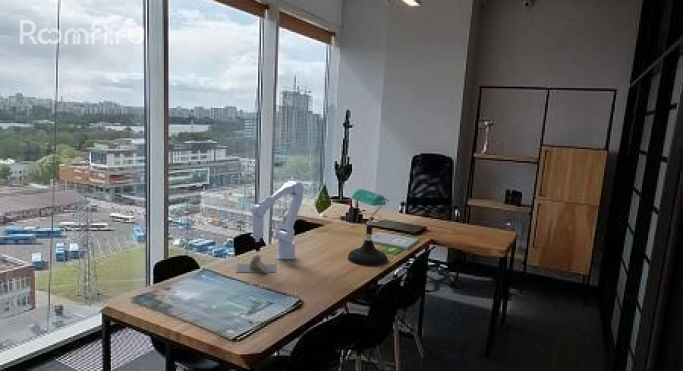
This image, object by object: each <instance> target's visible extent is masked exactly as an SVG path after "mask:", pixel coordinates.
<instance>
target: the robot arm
mask: <svg viewBox="0 0 683 371" xmlns="http://www.w3.org/2000/svg"><path fill="white" fill-rule="evenodd" d="M304 189H305V187H304V185H303V184H302V182H298V181H294V180H287V181H286V182H285V183H283V185H282V186H281V187H280V188H279V189H278V190H277V191H275V192H274V193H273V194H272V195H268V196H265V197H264V198H263V200H261V201H259V202H258V203H256V204H254V205H252V207H251V209H250V213H251V214H252V233H251V234H250V237H252V242H253V244H254V249H255V252H260V251H261V246H262V244H263V241H264V237H265V236H264V225H265V224H264V220H265V219H264V217H265V215H266V213H267V211H268V210H269V209H271V208H272V207H273V206H275V205H276V201H278V200H279V199H280V198H282V197H283V196H285V195H286V194H290V195H291V197H292V200H291V203H290V204H289V205H290V206H289V208H288V212H287V214H286V217H285V220H284V222H283V224H282V225H281V226H280V228H279V229H278V231H276V238H277V240H278V249H277V250H278V252H277V260H295V257H296V256H295V255H296V251H295V250H296V249H295V248H296V243H295V242H294V239H295V229H294V226H295V223H296V221H297V217H298V214H299V211H300V208H301V205H302V203H303V200H304Z"/></svg>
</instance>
